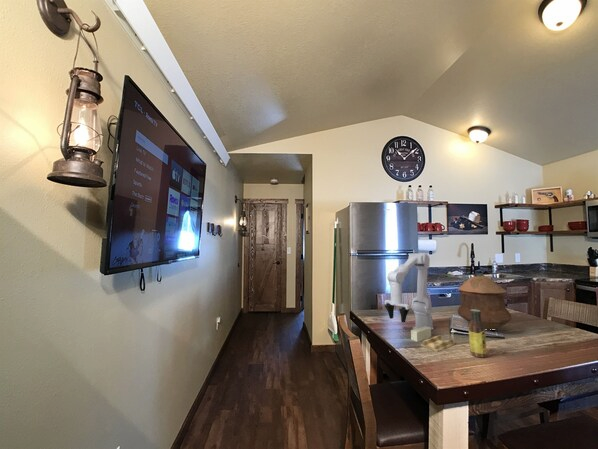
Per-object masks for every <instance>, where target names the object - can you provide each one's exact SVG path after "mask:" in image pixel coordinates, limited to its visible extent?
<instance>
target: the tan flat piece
mask: <svg viewBox="0 0 598 449" xmlns="http://www.w3.org/2000/svg"><path fill="white" fill-rule="evenodd" d="M420 346H421V347H423V348H427V349H429V350H432V351H434V352H436V353H438V352H441V351H443V350H445V349H448V348H450V347H452V346H456V343H455V342H454V339H451V338H449V339H443V338H442V336H441V335H436V336H433V337H432V336H431V337H430V338H427V339H424V340H422V343H421V344H420Z"/></svg>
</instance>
